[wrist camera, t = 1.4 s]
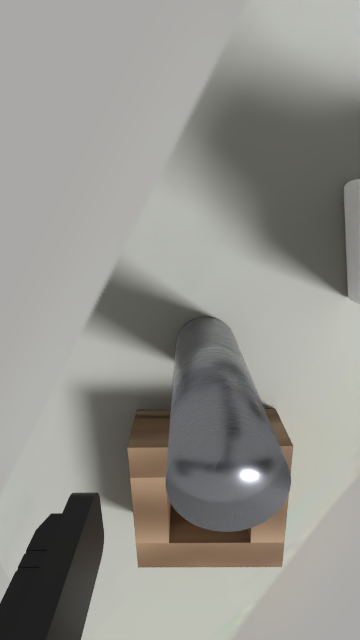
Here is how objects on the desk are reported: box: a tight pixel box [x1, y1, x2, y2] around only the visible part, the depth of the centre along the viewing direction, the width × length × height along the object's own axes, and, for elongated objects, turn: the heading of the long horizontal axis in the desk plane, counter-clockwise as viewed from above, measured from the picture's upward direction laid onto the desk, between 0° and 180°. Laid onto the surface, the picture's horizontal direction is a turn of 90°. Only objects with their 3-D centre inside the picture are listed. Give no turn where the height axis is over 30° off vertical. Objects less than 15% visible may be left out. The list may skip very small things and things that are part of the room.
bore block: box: [127, 409, 293, 567], centre depth 23 cm, size 10×10×4 cm
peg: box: [165, 317, 291, 532], centre depth 16 cm, size 4×4×12 cm
